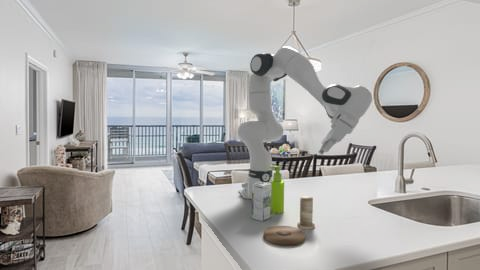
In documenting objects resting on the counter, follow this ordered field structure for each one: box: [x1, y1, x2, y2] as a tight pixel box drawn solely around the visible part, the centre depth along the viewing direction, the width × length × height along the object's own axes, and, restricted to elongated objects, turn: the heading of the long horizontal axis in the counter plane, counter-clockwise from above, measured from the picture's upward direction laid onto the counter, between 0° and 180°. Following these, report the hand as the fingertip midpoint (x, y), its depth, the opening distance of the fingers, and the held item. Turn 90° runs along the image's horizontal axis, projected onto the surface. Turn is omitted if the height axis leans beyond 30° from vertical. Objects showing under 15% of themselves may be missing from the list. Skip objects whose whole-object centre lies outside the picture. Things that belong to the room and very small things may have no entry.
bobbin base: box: [263, 225, 306, 247], centre depth 104 cm, size 14×14×2 cm
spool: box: [297, 195, 316, 231], centre depth 114 cm, size 6×6×11 cm
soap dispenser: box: [269, 165, 285, 214], centre depth 131 cm, size 6×7×20 cm
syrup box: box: [251, 182, 272, 222], centre depth 122 cm, size 6×6×14 cm
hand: (322, 152), depth 115 cm, fingers open, 8 cm apart
